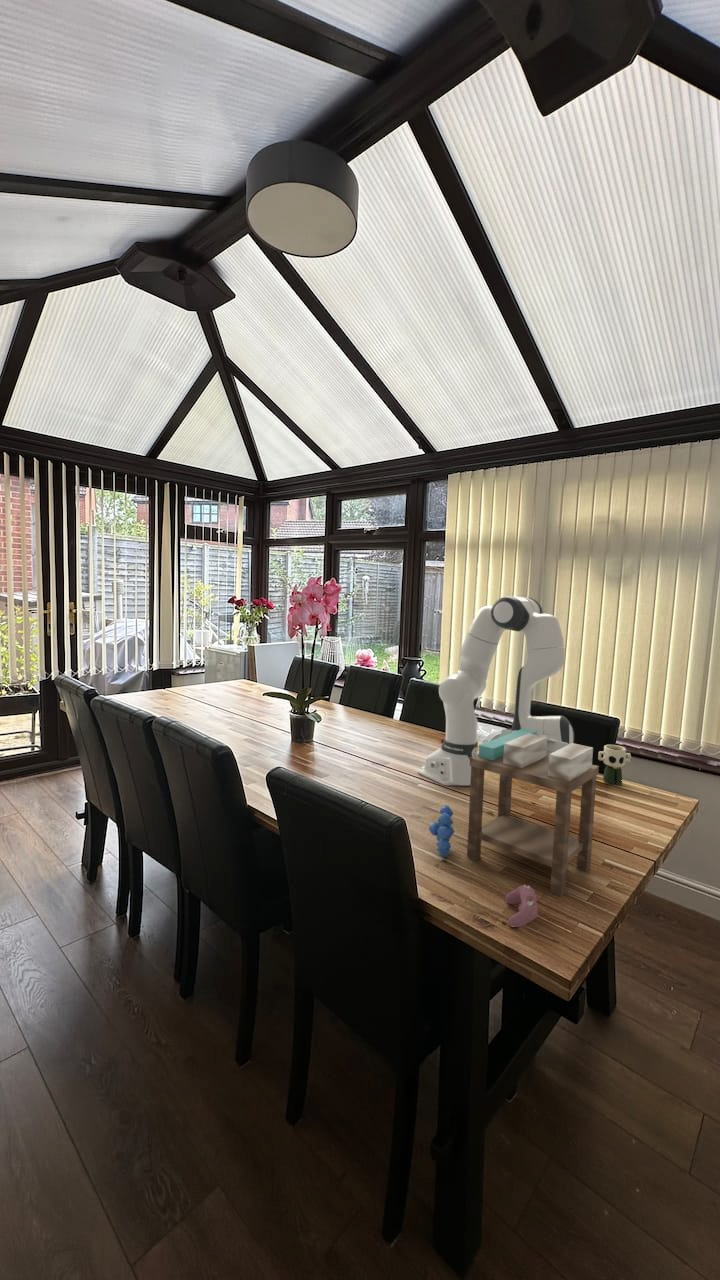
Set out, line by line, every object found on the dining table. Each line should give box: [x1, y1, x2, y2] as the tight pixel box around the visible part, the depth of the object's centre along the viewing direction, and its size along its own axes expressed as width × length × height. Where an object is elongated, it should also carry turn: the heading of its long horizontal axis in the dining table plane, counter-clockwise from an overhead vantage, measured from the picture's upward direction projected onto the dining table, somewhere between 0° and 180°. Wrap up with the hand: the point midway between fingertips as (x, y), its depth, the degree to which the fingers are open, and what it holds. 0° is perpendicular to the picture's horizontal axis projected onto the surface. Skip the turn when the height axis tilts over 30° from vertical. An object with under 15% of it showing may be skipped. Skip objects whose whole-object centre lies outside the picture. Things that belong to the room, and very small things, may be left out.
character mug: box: [597, 744, 632, 785], centre depth 189 cm, size 11×7×13 cm, turn 82°
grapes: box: [428, 804, 456, 858], centre depth 137 cm, size 12×7×12 cm, turn 166°
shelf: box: [466, 733, 600, 897], centre depth 131 cm, size 25×18×31 cm
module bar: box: [478, 728, 537, 760], centre depth 141 cm, size 4×24×3 cm, turn 136°
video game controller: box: [504, 884, 539, 928], centre depth 110 cm, size 10×5×7 cm, turn 169°
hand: (524, 735), depth 147 cm, fingers closed on module bar, 4 cm apart
